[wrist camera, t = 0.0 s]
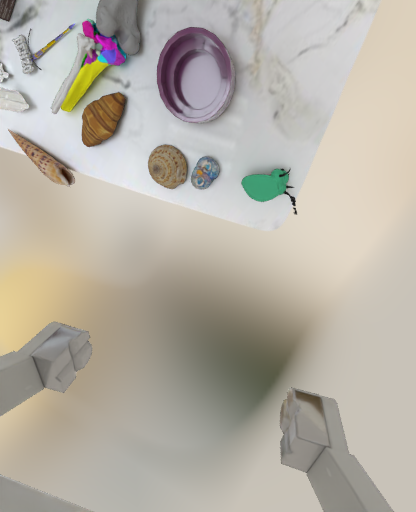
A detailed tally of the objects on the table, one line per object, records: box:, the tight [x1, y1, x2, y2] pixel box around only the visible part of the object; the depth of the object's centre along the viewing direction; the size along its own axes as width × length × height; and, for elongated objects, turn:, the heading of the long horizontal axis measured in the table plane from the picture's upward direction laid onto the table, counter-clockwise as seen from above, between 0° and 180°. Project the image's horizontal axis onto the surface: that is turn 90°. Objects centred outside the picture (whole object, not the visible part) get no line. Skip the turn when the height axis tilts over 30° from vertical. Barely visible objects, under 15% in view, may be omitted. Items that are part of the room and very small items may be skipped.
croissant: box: [82, 92, 126, 147], centre depth 48 cm, size 14×7×5 cm, turn 130°
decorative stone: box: [191, 157, 219, 189], centre depth 49 cm, size 6×4×5 cm
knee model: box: [51, 0, 140, 114], centre depth 43 cm, size 9×8×25 cm
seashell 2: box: [148, 145, 187, 189], centre depth 51 cm, size 8×6×8 cm
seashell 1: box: [8, 129, 75, 186], centre depth 56 cm, size 4×18×5 cm
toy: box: [241, 167, 297, 215], centre depth 49 cm, size 13×5×10 cm
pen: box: [31, 24, 75, 61], centre depth 46 cm, size 14×1×1 cm, turn 113°
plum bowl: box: [157, 27, 236, 123], centre depth 41 cm, size 12×12×5 cm
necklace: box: [12, 29, 41, 74], centre depth 47 cm, size 7×1×5 cm
